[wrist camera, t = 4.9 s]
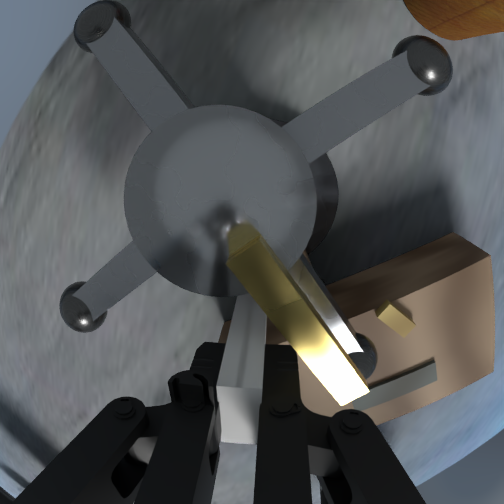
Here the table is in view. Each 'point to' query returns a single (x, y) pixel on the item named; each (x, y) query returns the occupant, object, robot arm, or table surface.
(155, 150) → the capstan
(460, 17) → the disposable coffee cup
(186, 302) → the table surface
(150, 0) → the table surface
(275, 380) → the robot arm
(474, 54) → the table surface
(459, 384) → the walnut stand
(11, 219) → the table surface
